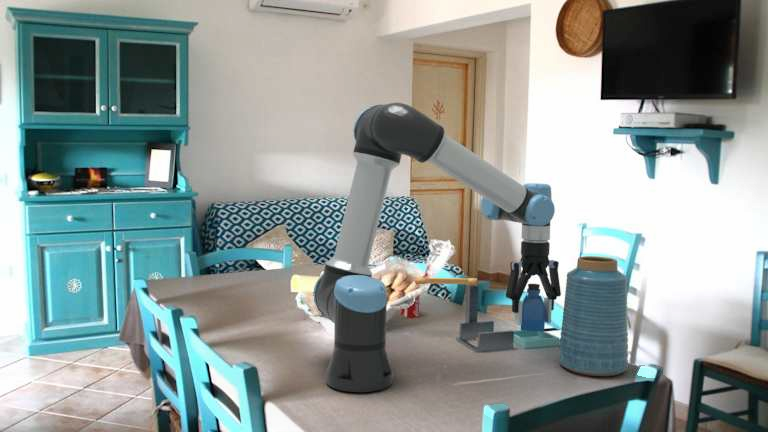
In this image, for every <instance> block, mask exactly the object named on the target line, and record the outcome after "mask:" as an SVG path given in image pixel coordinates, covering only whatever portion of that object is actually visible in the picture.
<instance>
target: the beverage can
mask: <svg viewBox="0 0 768 432" xmlns="http://www.w3.org/2000/svg"><path fill="white" fill-rule="evenodd" d="M420 296H421V295H418V296H417V297H416V298H415V302H414V304H413V305H412V306H410V307H409V308H405V309H401V308H400V315H401V316H403V317H405V318H406V319H416V318H415V317H417V318H419V317H420ZM418 316H419V317H418Z"/></svg>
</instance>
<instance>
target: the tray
mask: <svg viewBox="0 0 768 432" xmlns="http://www.w3.org/2000/svg"><path fill="white" fill-rule="evenodd" d="M512 330H513V329H512ZM513 331H514V344H515V345H517V346H518V347H520V348H522V349H523V350H530V349H532V350H533V349H542V347H543V348H550V346H552V347H559V346H560V338H561V337H558V336H557V335H554V334H551V333H550V332H547V331H546V330H544V332H540V331H525V330H521V329H515V330H513ZM514 344H513V345H514ZM558 345H559V346H558Z"/></svg>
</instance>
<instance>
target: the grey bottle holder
mask: <svg viewBox="0 0 768 432" xmlns="http://www.w3.org/2000/svg"><path fill="white" fill-rule="evenodd" d="M478 299H479V285H478V284H477V285H468V284H465V307H464V308H465V312H464V313H465V314H464V317H465V318H464V322H459V330H458V331H459V335H458V336H457V337H455V341H456V342H458V343H459V344H461V345H462V346H464V347H465V348H467V349H470V350H471V351H473V352H474V353H484V352H493V351H494V352H495V351H503V350H504V351H505V350H506V351H507V350H513V349H514V344H513V343H514V331H513V329H511V330H510V329H509V330H498V331H494V329H495V328H494V327H495V326H494V325H495V324H494V323H495V322H494V320H482V321H478V309H479V307H478V306H479V303H478V301H479V300H478ZM476 338H478V339H476ZM469 339H475V340H477V346H475V345H473V344H472V343H470V342H468V341H470V340H469Z"/></svg>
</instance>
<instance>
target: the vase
mask: <svg viewBox="0 0 768 432" xmlns="http://www.w3.org/2000/svg"><path fill="white" fill-rule="evenodd" d="M576 264H577V265H576V267H575V268H573V269H572V270H570V271H568V272H567V273H566V283H565V291H564V292H565V294H564V301H563V302H564V304H563V312H562V320H561V321H562V322H561V327H560V329H561V332H560V337H559V338H560V343H559V346H558V347H559V348H558V350H559V353H558V356H557V357H558V359H557V360H558V363H559V364H560V365H561V366H562V367H564V369H565V370H568V371H570V372H572V373H576V374H580V375H584V376H592V377H613V376H614V377H615V376H616V375H617V376H618V375H620V374H622V373H624V372H626V371H627V370H628V369H629V360H628V357H629V351H628V350H629V344H628V342H629V337H628V335H629V332H628V277H627V275H625V274H623V273H622V272H621V271H620V270H618V260H617V259H616V258H613V257H607V256H592V255H591V256H589V255H588V256H587V255H586V256H579V257H578V258H577V263H576Z"/></svg>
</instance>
